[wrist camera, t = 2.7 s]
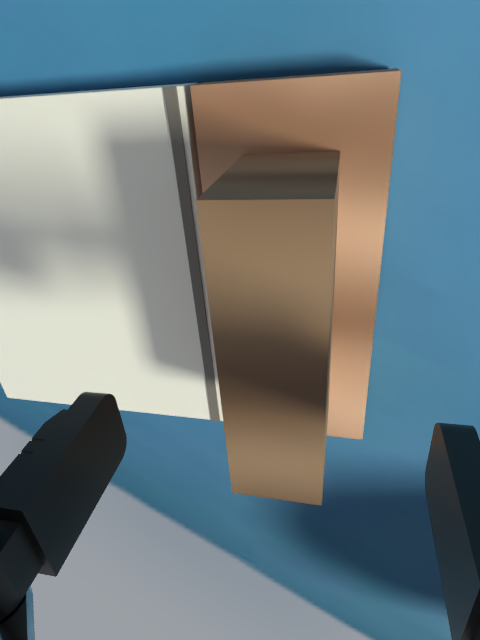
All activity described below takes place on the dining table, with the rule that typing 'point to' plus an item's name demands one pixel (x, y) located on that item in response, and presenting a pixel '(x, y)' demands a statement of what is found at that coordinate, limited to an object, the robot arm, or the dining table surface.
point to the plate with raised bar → (293, 263)
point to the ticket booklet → (104, 251)
